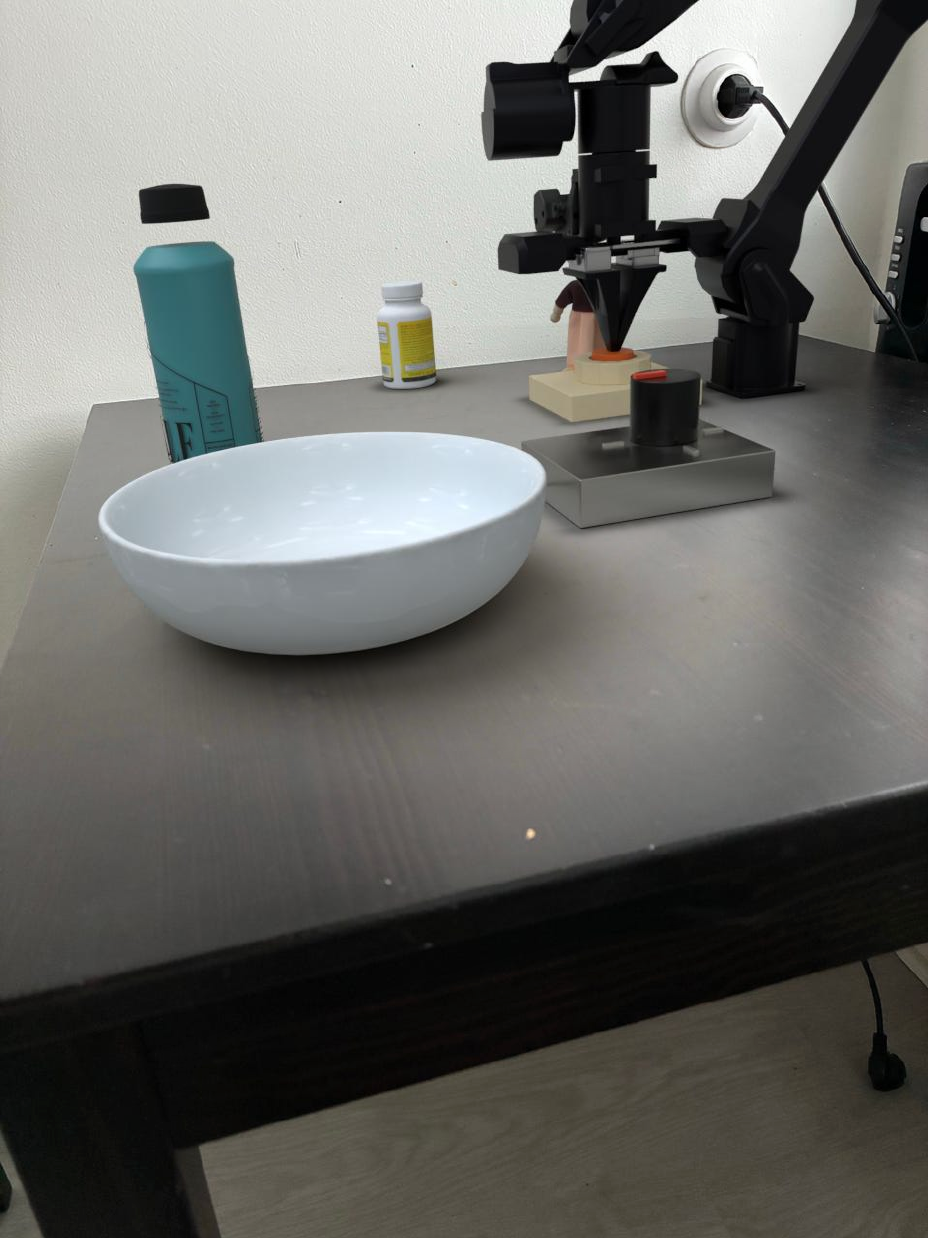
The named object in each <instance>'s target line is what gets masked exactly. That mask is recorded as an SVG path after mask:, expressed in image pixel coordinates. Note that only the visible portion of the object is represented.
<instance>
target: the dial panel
mask: <svg viewBox="0 0 928 1238" xmlns="http://www.w3.org/2000/svg"><path fill="white" fill-rule="evenodd" d="M520 448H521V449H520V450H521V451H524V452H526V453H528V454H530V455H531V456H533V457H534V458H535V459H537V460H538V461H539V462H540V463H541V465H542V466H543V467H544V469H545V471H546V474H547V488H546V496H545V503H547V504H548V505H549V506H551V507H552V508H554V509H555V510H556V511H557V512H558V513H560V514H562V515H563V516H564V517H565V518H566V519H567V520H569V521H571V522H572V523H573V524H574V525H576V526H577V527H578V528H579V529H584V528H592V527H596V526H603V525H609V524H615V523H621V522H627V521H634V520H639V519H640V520H641V519H646V518H652V517H658V516H664V515H670V514H677V513H683V512H688V511H695V510H700V509H706V508H712V507H718V506H719V507H720V506H724V505H730V504H736V503H742V502H748V501H754V500H760V499H761V500H762V499H766V498H767V499H768V498H772V497H773V494H774V493H773V490H774V479H775V478H774V477H775V463H776V450H775V449H772V448H770V447H768V446H766V445H763V444H761V443H758V442H756V441H753V440H751V439H748V438H746V437H744V436H742V435H740V434H737V433H734V432H732V431H730V430H727V429H724V427H723V426H718V425H716V424H713V423H710V422H708V421H706V420H703V419H701V418H699V432H698V438H697V439H696V440H695V441H692V442H689V443H686V444H680V445H671V446H654V445H645V444H640V443H637V442H634V441H632V440H631V439H630V425H626V426H621V427H620V426H619V427H613V428H606V429H598V430H592V431H591V430H590V431H585V432H577V433H571V434H564V435H563V434H562V435H557V436H548V437H543V438H535V439H534V438H533V439H527V440H521V442H520Z"/></svg>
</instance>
